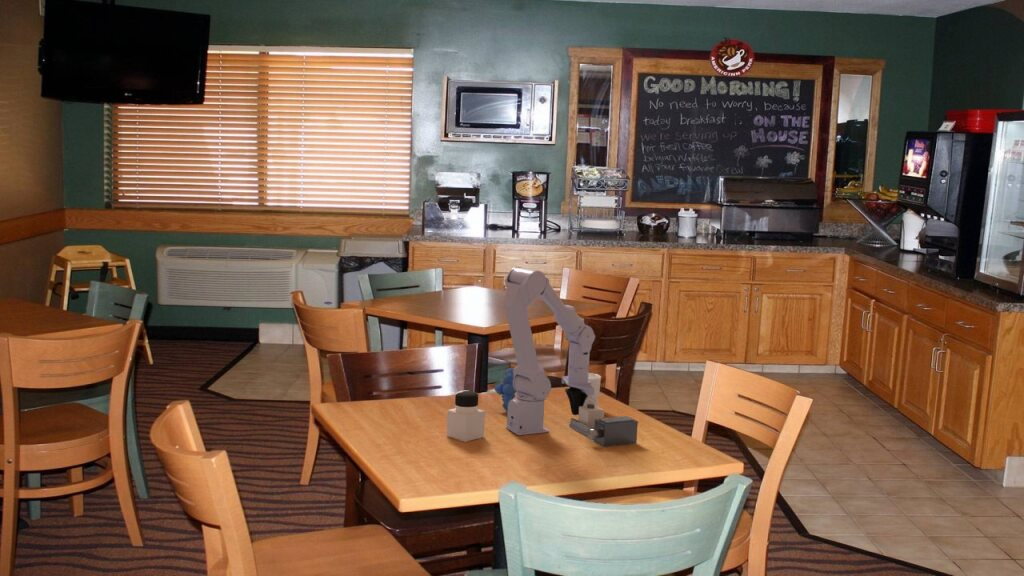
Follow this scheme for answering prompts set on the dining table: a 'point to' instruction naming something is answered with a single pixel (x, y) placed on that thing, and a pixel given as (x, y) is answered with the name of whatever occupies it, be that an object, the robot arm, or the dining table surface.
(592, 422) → the block
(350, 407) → the dining table surface
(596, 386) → the white cup
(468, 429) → the medicine bottle
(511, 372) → the grapes
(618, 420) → the module housing
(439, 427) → the dining table surface
